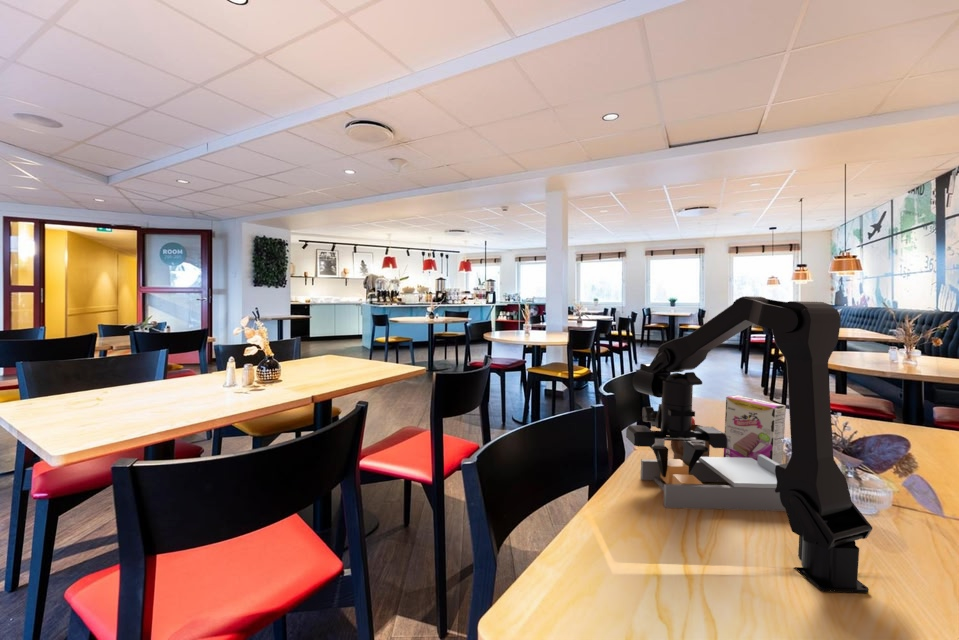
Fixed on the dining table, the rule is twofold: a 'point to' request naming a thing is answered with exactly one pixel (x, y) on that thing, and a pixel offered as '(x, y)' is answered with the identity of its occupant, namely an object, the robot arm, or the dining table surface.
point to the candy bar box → (754, 428)
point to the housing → (711, 491)
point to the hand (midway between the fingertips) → (674, 476)
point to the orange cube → (675, 469)
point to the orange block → (685, 479)
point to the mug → (678, 449)
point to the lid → (744, 470)
